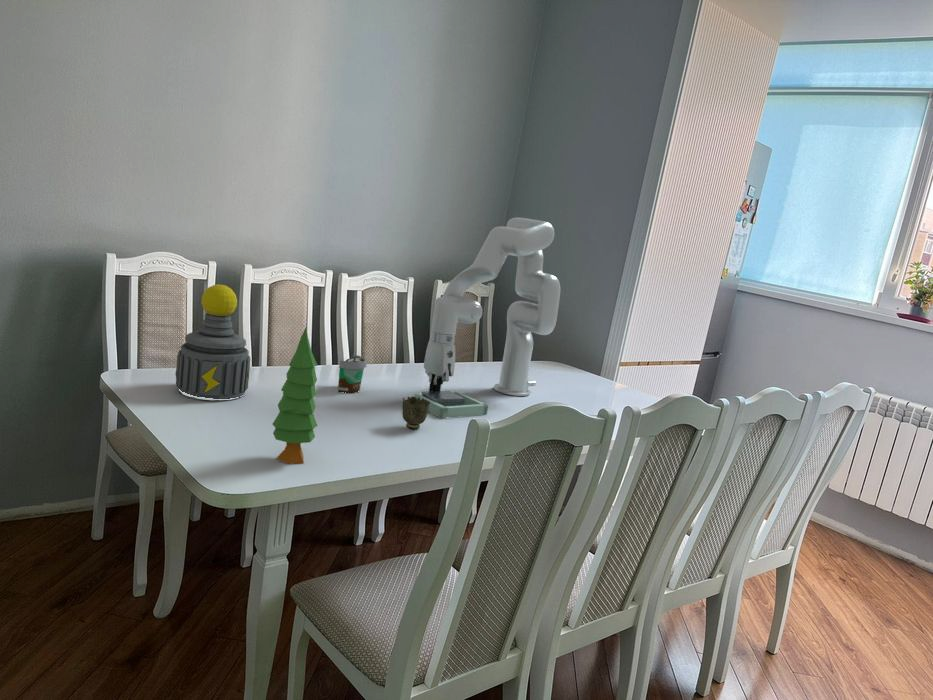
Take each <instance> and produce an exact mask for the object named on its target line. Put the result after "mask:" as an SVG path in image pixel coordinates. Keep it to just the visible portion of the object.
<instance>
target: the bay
mask: <svg viewBox="0 0 933 700" xmlns="http://www.w3.org/2000/svg"><path fill="white" fill-rule="evenodd" d="M453 393H455V394H457V395H459V396H461V397H463V398H465V400H464V405H460V406H447V407H445V406H443V405H440V404H438V403H436V402H434V401H432V400H430V399H428V398H426V397H424V396H422V395H421V393H416V394H415V393H414V394H413V396H414V397H415V398H417V399H418V398H419V397H420V401H421V400H422V399H423V398H424V400H425V399H427V402H428V401H429V402H430V406H429V410H428V413H431V414H433V415H435V416H437V417H439V416H440V417H439V418H441V417H442V418H441V419H447V418H446V417H454V418H460V417H459V416H466V417H475V415H477V416H487V415H488V411H489V410H488V408H489V404H486V403H484V402H482V401H479V400H477V399H475V398H473V397H471V396H469V395H467V394H464V393H462V392H460V391H453ZM486 414H487V415H486Z"/></svg>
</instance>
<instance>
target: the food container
mask: <svg viewBox="0 0 933 700" xmlns="http://www.w3.org/2000/svg"><path fill="white" fill-rule="evenodd" d="M338 368H339V373H338V384H337V385H338V386H337V387H338V388H337V393H340V392H344V393H343V394H356V393H355V392H358V391H359V392H360V391H361V386H362V381H363V375H364V371H365V369H366V368H367V360H366V358H365V357H363V356H360V355H357V354H353V355H352V357H351V358H347V359H346V360H340V362H339V365H338ZM345 392H346V393H345ZM359 392H358V393H359Z"/></svg>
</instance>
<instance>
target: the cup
mask: <svg viewBox="0 0 933 700" xmlns="http://www.w3.org/2000/svg"><path fill="white" fill-rule="evenodd" d="M401 406H402V409H401V411H402V412H401V413H402V414H401V415H402V418H403V420H404V421H405V422H406V424H405V426H406V428H407V429H409V430H412V431H417V430H420V427H421V426H420V425H421V424H423V423H424V422H425V421H426V418H427V416H428V413H429V411H428V410H429V406H430V402H429V401H428V402H427V399H425V400H424V398H423V399H422V400H421V401H420V397H419V398H418V399H417V398H415V397H414V395H413V396H407V397H406V399H405V397H402V405H401Z"/></svg>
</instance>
